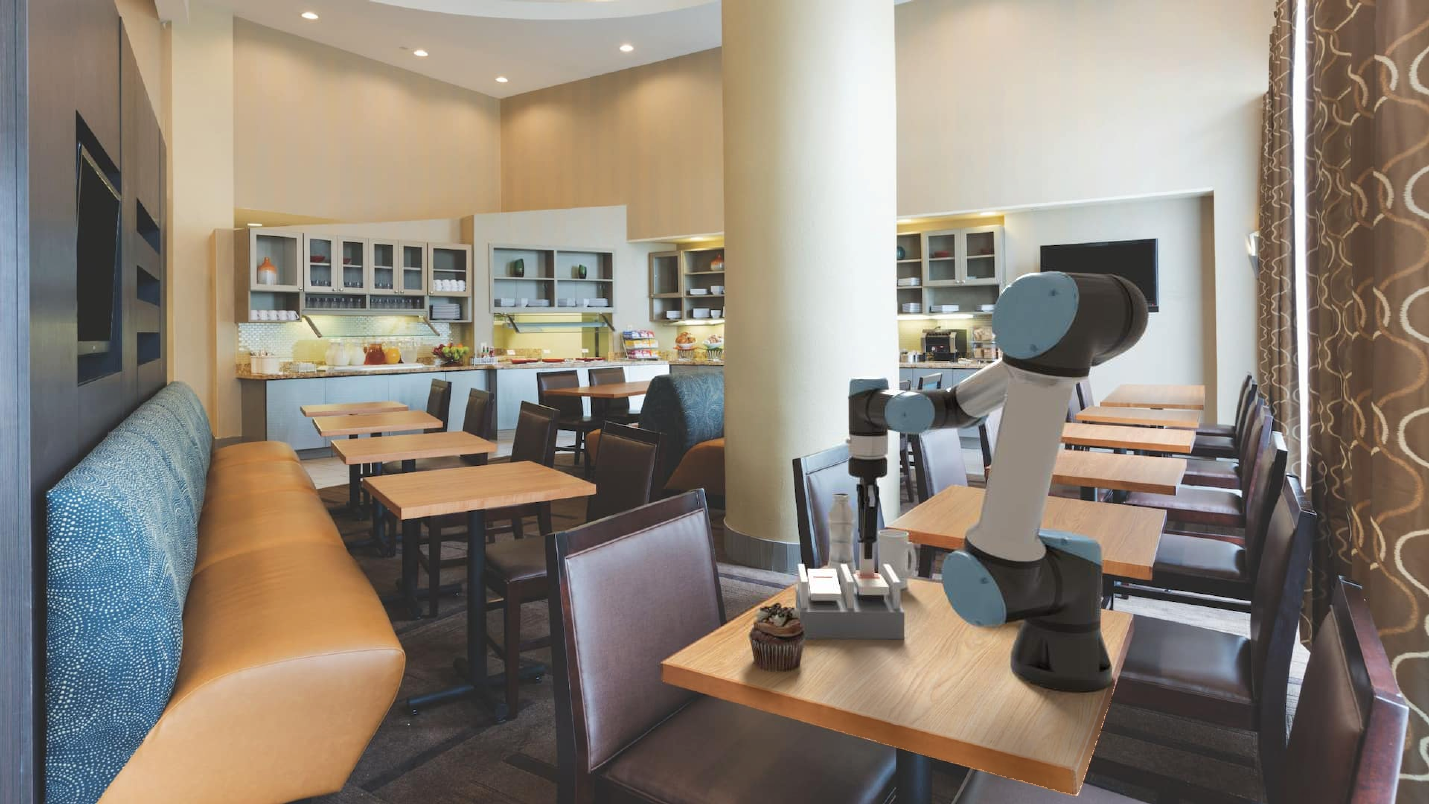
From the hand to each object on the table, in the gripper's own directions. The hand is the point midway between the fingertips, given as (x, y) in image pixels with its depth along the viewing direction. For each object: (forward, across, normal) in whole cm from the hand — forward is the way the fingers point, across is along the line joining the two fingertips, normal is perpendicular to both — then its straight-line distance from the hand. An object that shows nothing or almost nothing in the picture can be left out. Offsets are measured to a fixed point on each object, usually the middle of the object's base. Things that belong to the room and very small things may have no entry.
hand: (866, 572), depth 154 cm
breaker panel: (+9, +5, -4) cm, 11 cm away
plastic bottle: (+10, -23, -2) cm, 25 cm away
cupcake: (+8, +24, -18) cm, 31 cm away
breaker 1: (+2, +4, -9) cm, 10 cm away
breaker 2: (+2, +4, 0) cm, 5 cm away
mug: (+9, -18, +10) cm, 23 cm away
